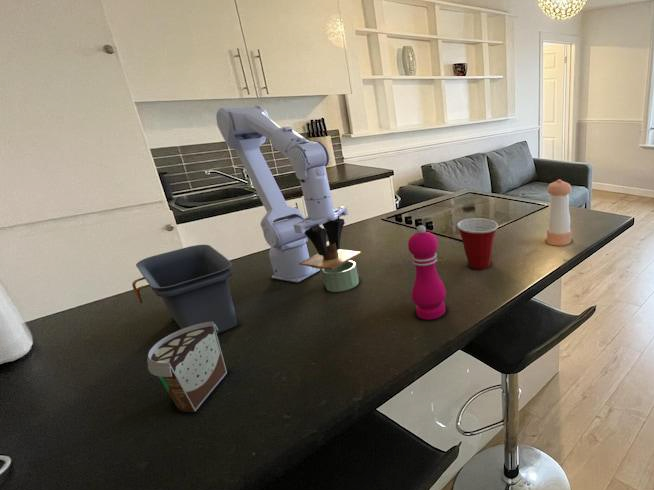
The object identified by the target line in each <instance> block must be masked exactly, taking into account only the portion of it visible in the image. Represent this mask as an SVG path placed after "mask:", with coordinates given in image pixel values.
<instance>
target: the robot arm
mask: <svg viewBox="0 0 654 490" xmlns="http://www.w3.org/2000/svg"><path fill="white" fill-rule="evenodd" d="M215 117H216V118H215V119H216V125H217V128H218V131H219V132H220V134H221V136H222V138H223V140H224V142H225V143H226V145H227V147H228V148H231V149H233V150H234V151H235V152H236V154H237V156H238V158H239V160H240V162H241V164H242V167H243V168H244V170H245V172H246V173H247V176H248V178H249V179H250V182H251V183H252V185H253V188H254V189H255V191H256V193H257V195H258V197H259V200H260V202H261V203H262V205H263V207H264V209H265V211H266V213H265V214H264V216H263V217H262V219H261V221H260V224H259V225H260V228H261V230H262V234H263V237H264V240H265V241H266V243H267V245H269V246H270V247H269V251H268V257H269V262H270V264H271V268H272V272H273V275H272V276H271V279H274V280H280V281H287V282H292V283H300V282H302V281H303V280H305V279H307V278H309V277H311V276H313V275H314V274H316V273H318V272H320V271H321V268H316V267H310V266H304V265H299V263H300V262H302V261H304V260H306V259H308V258H310V254H309V249H308V246H307V242H309V241H310V242H311V244H313V246H314V248H315V250H316V251H317V254H318V253H319V255H322V256H326V255H328V249H327V243H326V242H327V240H328V242H329V241H333V242H335V243H336V247H337V250H338V249H341V248H340V247H341V238H342V237H341V236H342V232H343V228H344V226H345V224H346V223H345V219H344V218H340V217H342V216H348V215H349V213H348V212H349V211H348V207H347V206H339V207H334V204H333V198H332V193H331V188H330V183H329V179H328V172H327V166H328V165H329V163H330V155H329V154H330V153H329V151H328V149H327V147H326V146H325V144H323V143H322V142H321V140H311V141H310V140H308V139H307V138H306V137H304V136H302V135H301V134H299V133H298V132H296V131H294V129H293V128H292V127H291V126H283V127H280V125H278V124H277V123H276V122H274V121H273V120H272V119H271V118H270V116H269V114H268V112H267V110H266V109H265V108H263V107H262V106H261V105H254V106H244V107H243V106H242V107H229V108H227V107H226V108H225V107H220V108H218V109H217V112H216V115H215ZM267 139H268V140H270V143H271V145H272V147H273V148H274V149H275V151H277V152H279V153H281V154H282V155H283V156H285V157H286V158H288V161H289V163H290V165H291V167H292V169H293V170H294V174H295V176H296V178H297V180H299V183H300V186H301V191H302V195H303V200H304V205H305V209H306V213H307V217H305V216H304V215H303V213H302V212H301V210H300V209H299V208H297V207H294V206H290V205H288V203H287V201H286V199H285V197H284V195H283V193H282V192H281V189H280V187H279V186H278V184H277V181H276V179H275V178H274V176H273V174H272V171H271V169H270V168H269V165H268V164H267V162H266V159H265V158H264V155H263V153H262V152H261V150H260V147H261V145H263V144H265V143H266V141H267ZM321 225H322V226H321Z"/></svg>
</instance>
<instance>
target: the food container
mask: <svg viewBox="0 0 654 490" xmlns="http://www.w3.org/2000/svg"><path fill="white" fill-rule="evenodd" d="M216 331H218V328H217V326H216V325H215V324H214V322H206V323H201V324H196V325H193V326H190V327H187V328H184V329H181V328H180V329H179V330H176V331H175V332H172V333H170V334H168V335H167V336H165V337H163V338H162V339H160V340H158V341H157V342H155V344H154V345H153V346H152V347H151V348H150V349H149V351H148V354H147V359H146V362H147V369H148V372H149V373H150V374H151V375H153V376H156V377H158V378H159V379H160V381H161V383H162V384H163V386H164V388H165V390H166V391H167V393H168V394H169V396H170V398H171V401H173V403H174V405H175V406H176V408H177V409H178V410H180V411H182V412H186V413H195V412H197V410H198V409H199V408H200V407H201V405H202V404H203V403H204V402H205V401H206V399H207V398H208V397H209V395H210V394H211V393H212V392H213V391H214V390H215V389H216V387H217V386H218V385H219V383H220V382H221V381H222V380H223V379H224V378H225V376H226V375H227V374H228V370H227V366H226V364H225V360H224V356H223V352H222V347H221V345H220V341H219V337H218V334H217V333H216Z"/></svg>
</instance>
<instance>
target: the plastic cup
mask: <svg viewBox="0 0 654 490" xmlns="http://www.w3.org/2000/svg"><path fill="white" fill-rule="evenodd" d="M456 227H457V228H458V230H459V233H460V237H461V241H462V244H463V249H464V253H465V256H466V261H467V264H468V266H469V267H470V268H471V269H473V270H483V269H486V268H489V267H490V266H491V262H492V261H491V260H492V255H493V247H494V240H495V236H496V231H497V230H498V229H499V223H497V222H496V221H495V220H492V219H489V218H482V217H473V218H472V217H471V218H465V219H462V220H459V221H458V222H457V224H456Z"/></svg>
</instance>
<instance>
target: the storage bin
mask: <svg viewBox="0 0 654 490" xmlns="http://www.w3.org/2000/svg"><path fill="white" fill-rule="evenodd" d="M135 266H136V268H137V269H138V270H139V272H140V274H141V276H142V277H140V278H137V279H135V280H134V281H132V285H131V286H132V289H133V291H134V294H135V295H134V296H135V297H136V300H137V301H138V303H139V304H142V303H143V299H142V295H141V293H140V290H142V289H145V288H151V290H152V291H153V292H154V293H155V295H156V296H157V297H160V298H162V300H163V303H164V304H165V306H166V308H167V310H168V312H169V314H170V316H171V317H172V318H173V320H174V321H175V322H176V324H177V325H178V327H179V328H180V330H181V329H184V328H187V327H190V326H193V325H196V324H201V323H206V322H214V324H215V325H216V326H217V328H218V331H216V333H217V335H218V334H221V333H223V332H225V331H228V330H231V329H233V328H234V327H236V326H237V325H238V319H237V315H236V310H235V306H234V302H233V297H232V293H231V290H230V285H229V281H228V279H229V278H231V277H232V275H233V271H232V269H231V267H232V266H233V263H232V262H231V260H229V259H228V258H227V257H225V256H224V255H223V254H222V253H221V252H219V251H218V250H217V249H215V248H214V247H213V246H211V245H209V244H196V245H190V246H186V247H182V248H179V249H175V250H170V251H167V252H162V253H160V254H155V255H152V256H148V257H146V258H143V259H141V260H139V261H137V262H136V263H135ZM143 280H145V281H146V282H147V283H148V284H145V285H141V286H139V287H137V286H136V285H137V282H140V281H143Z"/></svg>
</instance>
